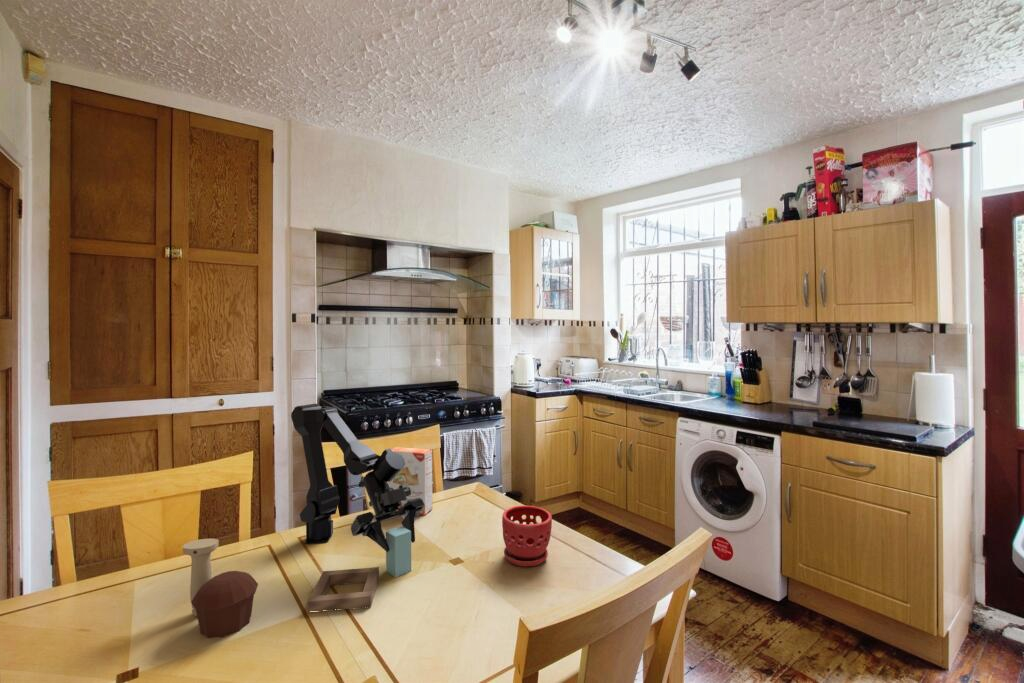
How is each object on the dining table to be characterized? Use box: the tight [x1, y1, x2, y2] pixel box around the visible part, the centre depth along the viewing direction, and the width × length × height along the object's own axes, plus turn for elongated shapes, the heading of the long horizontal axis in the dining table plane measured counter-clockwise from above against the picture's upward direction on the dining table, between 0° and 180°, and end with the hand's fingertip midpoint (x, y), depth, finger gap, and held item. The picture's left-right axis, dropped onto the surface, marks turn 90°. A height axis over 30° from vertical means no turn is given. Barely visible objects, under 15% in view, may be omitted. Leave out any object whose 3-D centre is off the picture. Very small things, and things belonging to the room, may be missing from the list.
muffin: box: [190, 570, 259, 639], centre depth 96 cm, size 12×11×10 cm
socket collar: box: [307, 566, 380, 613], centre depth 107 cm, size 13×13×2 cm
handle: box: [182, 538, 220, 618], centre depth 99 cm, size 5×6×15 cm
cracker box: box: [388, 446, 433, 516], centre depth 158 cm, size 14×6×21 cm, turn 73°
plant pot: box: [501, 505, 553, 567], centre depth 123 cm, size 13×13×12 cm
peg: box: [385, 525, 412, 578], centre depth 117 cm, size 4×4×10 cm
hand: (401, 546), depth 116 cm, fingers open, 7 cm apart
